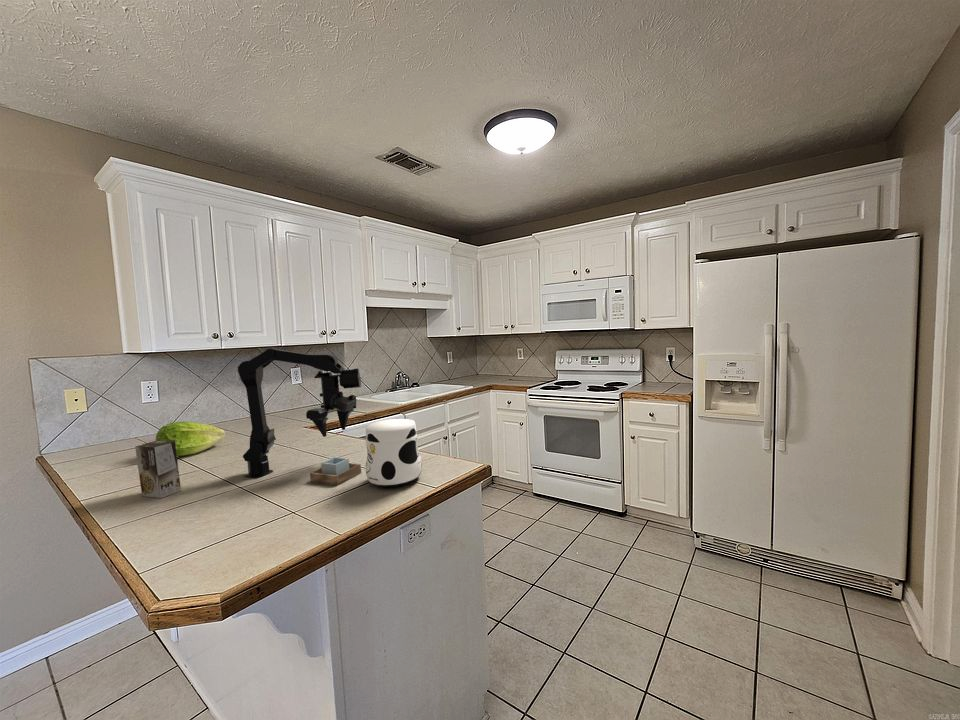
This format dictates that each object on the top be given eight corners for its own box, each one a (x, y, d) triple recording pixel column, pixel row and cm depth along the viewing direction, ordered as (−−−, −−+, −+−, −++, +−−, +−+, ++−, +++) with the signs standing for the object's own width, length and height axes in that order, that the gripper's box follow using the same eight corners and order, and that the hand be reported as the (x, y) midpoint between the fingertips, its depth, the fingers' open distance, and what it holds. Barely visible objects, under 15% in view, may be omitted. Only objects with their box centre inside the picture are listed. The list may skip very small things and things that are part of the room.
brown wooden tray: (310, 482, 128) (309, 472, 128) (335, 469, 139) (334, 461, 138) (337, 485, 124) (336, 476, 124) (361, 472, 134) (360, 464, 134)
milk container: (356, 483, 125) (351, 426, 124) (401, 466, 138) (397, 415, 136) (387, 496, 114) (382, 434, 112) (434, 477, 126) (430, 421, 125)
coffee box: (182, 490, 127) (176, 440, 126) (160, 498, 121) (154, 447, 120) (162, 488, 130) (156, 439, 129) (140, 496, 124) (134, 445, 123)
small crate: (322, 478, 130) (321, 463, 129) (335, 471, 135) (334, 457, 135) (337, 479, 127) (335, 464, 127) (349, 473, 133) (348, 458, 132)
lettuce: (231, 450, 173) (230, 417, 175) (160, 459, 155) (160, 422, 157) (219, 450, 185) (219, 419, 186) (152, 458, 167) (152, 424, 168)
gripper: (328, 394, 129) (332, 442, 130) (366, 385, 146) (369, 427, 147) (303, 394, 133) (307, 440, 134) (342, 385, 150) (345, 426, 151)
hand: (334, 433), depth 142 cm, fingers open, 9 cm apart
